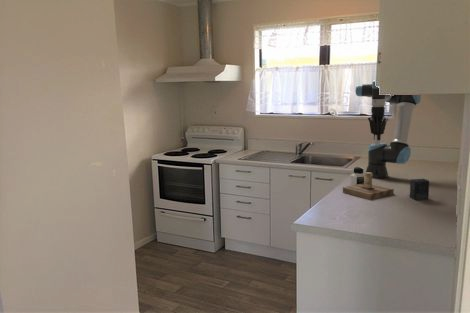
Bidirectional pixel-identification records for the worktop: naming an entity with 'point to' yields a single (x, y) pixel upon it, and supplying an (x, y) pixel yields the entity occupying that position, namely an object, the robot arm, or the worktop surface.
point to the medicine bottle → (357, 176)
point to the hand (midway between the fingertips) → (376, 145)
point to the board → (368, 191)
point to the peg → (368, 180)
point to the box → (419, 189)
